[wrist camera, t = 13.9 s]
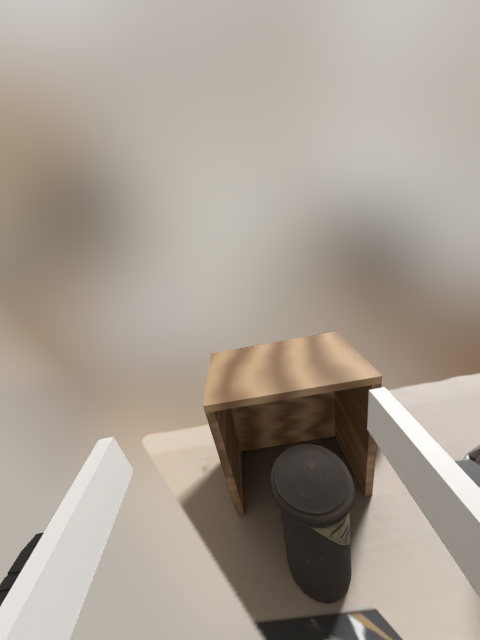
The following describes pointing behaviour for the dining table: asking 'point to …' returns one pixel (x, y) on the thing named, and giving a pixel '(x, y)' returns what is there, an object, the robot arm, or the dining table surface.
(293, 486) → the container
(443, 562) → the dining table surface
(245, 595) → the dining table surface
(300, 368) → the cubby
